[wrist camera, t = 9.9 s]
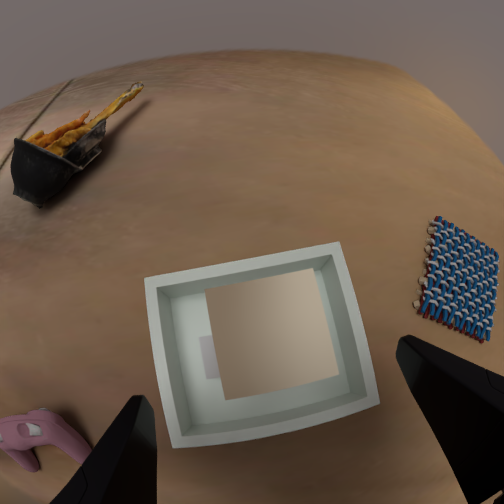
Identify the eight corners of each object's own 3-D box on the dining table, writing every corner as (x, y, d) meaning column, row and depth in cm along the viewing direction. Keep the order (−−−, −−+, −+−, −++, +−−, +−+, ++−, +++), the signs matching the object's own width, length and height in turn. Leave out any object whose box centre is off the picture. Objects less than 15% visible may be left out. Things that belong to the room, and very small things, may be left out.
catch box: (325, 261, 23) (339, 241, 20) (358, 397, 19) (380, 403, 15) (161, 292, 22) (144, 277, 19) (186, 433, 18) (172, 448, 14)
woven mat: (492, 256, 24) (502, 249, 22) (480, 346, 21) (493, 343, 19) (426, 217, 26) (435, 207, 24) (406, 313, 22) (418, 309, 20)
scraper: (306, 315, 21) (376, 254, 9) (317, 358, 20) (403, 352, 8) (201, 336, 21) (134, 301, 8) (210, 380, 19) (150, 408, 7)
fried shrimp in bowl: (-7, 184, 22) (65, 49, 22) (63, 211, 31) (124, 89, 31) (-6, 198, 17) (90, 26, 17) (86, 230, 26) (161, 81, 26)
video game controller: (92, 421, 19) (38, 393, 15) (101, 466, 16) (42, 448, 11) (30, 436, 18) (-20, 411, 13) (35, 474, 15) (-19, 455, 10)
